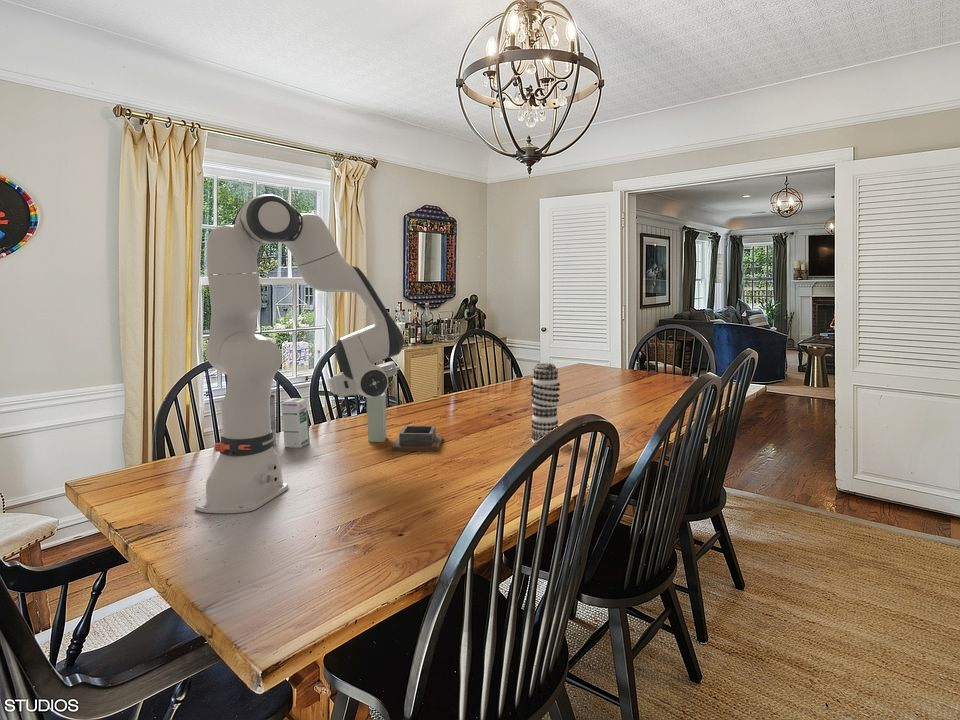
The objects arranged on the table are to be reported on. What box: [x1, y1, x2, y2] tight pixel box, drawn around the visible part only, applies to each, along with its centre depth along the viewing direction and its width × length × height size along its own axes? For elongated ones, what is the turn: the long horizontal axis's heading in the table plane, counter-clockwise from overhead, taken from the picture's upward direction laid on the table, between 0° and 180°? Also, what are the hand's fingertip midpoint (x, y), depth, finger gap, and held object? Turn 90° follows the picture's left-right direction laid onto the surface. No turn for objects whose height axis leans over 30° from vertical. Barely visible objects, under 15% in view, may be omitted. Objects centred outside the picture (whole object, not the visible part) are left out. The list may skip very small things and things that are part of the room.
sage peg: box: [366, 392, 388, 443], centre depth 185 cm, size 5×5×15 cm
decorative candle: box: [530, 362, 561, 444], centre depth 181 cm, size 9×9×25 cm
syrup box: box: [281, 397, 311, 449], centre depth 179 cm, size 6×6×14 cm
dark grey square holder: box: [391, 425, 444, 452], centre depth 180 cm, size 14×14×5 cm
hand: (360, 374), depth 175 cm, fingers open, 8 cm apart
